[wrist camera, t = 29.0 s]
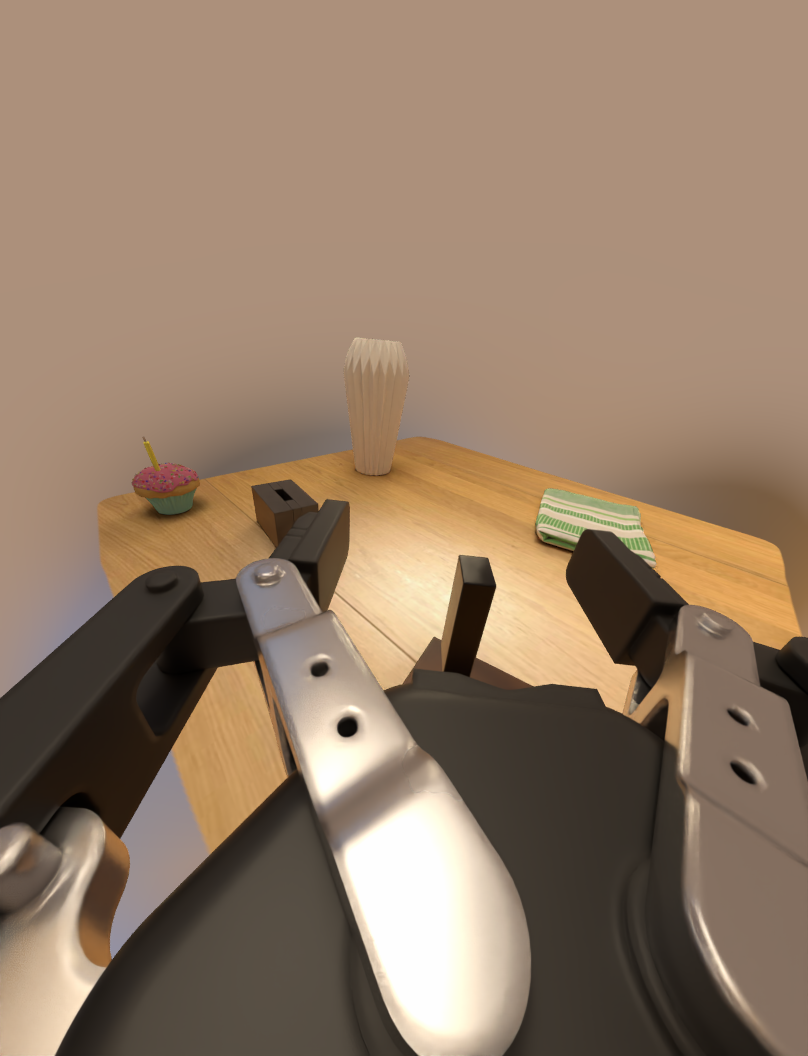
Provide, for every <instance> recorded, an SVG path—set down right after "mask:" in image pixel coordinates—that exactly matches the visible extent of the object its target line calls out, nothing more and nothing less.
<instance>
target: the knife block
mask: <svg viewBox="0 0 808 1056" xmlns="http://www.w3.org/2000/svg"><path fill="white" fill-rule="evenodd" d="M251 487H252V493H253V499H254V506H255V512H256V518H257V522H258V523H259V524H260V526H261V527H262V529H263V530H264V531H265V533H266V534H267V536H268V537H269V538H270V540H271V541H272V542H273V544H274V545H275V547H276V548H277V546H278V545H279V544H280V542H281V541H282V539H283V538H284V537H285V536H286V535H287V533H288V531H289V530H290V529H292V526H293V524H294V523H295V522H296V520H297V519H298V518H299V517H301V516H303V515H305V514H306V513H308V512H317V513H318V512H319V511H318V503H317V502H315V501H314V500H313V499H312V498H311V497H310V496H309V495H308V494H307V493H305V492H304V491H303V490H302V489H301V488H300V487H299V486H298V485H297V484H295V483H294V482H293V481H292V480H285V481H279V482H273V483H268V484H261V485H255V486H251Z"/></svg>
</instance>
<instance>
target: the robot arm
mask: <svg viewBox="0 0 808 1056" xmlns="http://www.w3.org/2000/svg"><path fill="white" fill-rule="evenodd" d="M349 528H350V506H349V502H346V501H337V500H328V499H327V500H326V501H325V502H324V504H323V505H322V507H321V508H320V510H319V512H318V513H317V512H308V513H306V514H305V515H303V516H301V517H299V518H298V519H297V520H296V522H295V523H294V524H293V526H292V529H290V530H289V531H288V533H287V535H286V536H285V537H284V538H283V539H282V541H281V542H280V544H279V545H278V546H277V548H276V549H275V550H274V552H273V553H272V554H271V556H270V557H269V559H263V560H259V561H255V562H253V563H251V564H249V565H247V566H246V567H244V568H243V569H242V570H241V571H240V572H239V573H238V575H237V577H236V579H230V580H221V581H211V582H200V579H199V575H198V573H197V572H196V571H195V570H194V569H192V568H190V567H186V566H169V567H163V568H159V569H155V570H152V571H150V572H147V573H145V574H143V575H141V576H139V577H138V578H136V579H135V580H133V581H132V582H131V583H130V584H129V585H127V586H126V587H125V588H124V589H123V590H122V591H121V592H120V593H118V594H117V595H116V596H115V597H114V598H113V599H112V600H111V601H109V602H108V603H107V604H106V605H105V606H104V607H103V608H102V609H101V610H99V611H98V612H97V613H96V614H95V615H94V616H93V617H91V618H90V619H89V620H88V621H87V622H86V623H85V624H84V625H82V626H81V627H80V628H79V629H78V630H77V631H76V632H75V633H74V634H72V635H71V636H70V637H69V638H68V639H67V640H65V641H64V642H63V643H62V644H61V645H60V646H59V647H58V648H56V649H55V650H54V651H53V652H52V653H51V654H50V655H49V656H48V657H46V658H45V659H44V660H43V661H42V662H41V663H40V664H38V665H37V666H36V667H35V668H34V669H33V670H32V671H31V672H29V673H28V674H27V675H26V676H25V677H24V678H23V679H22V680H20V681H19V682H18V683H17V684H16V685H15V686H14V687H13V688H11V689H10V690H9V691H8V692H7V693H6V694H5V695H3V696H2V697H1V698H0V1056H808V638H806V637H794V638H792V639H791V640H790V641H789V642H788V643H787V644H786V645H785V646H784V647H783V648H782V649H781V650H778V649H775V648H772V647H768V646H765V645H762V644H759V643H755V642H753V641H752V638H751V637H750V635H749V634H748V633H747V632H746V631H745V630H744V629H743V628H742V627H741V626H740V625H738V624H737V623H736V622H734V621H733V620H731V619H729V618H728V617H726V616H724V615H722V614H720V613H718V612H716V611H713V610H711V609H708V608H705V607H701V606H696V605H689V604H688V603H687V602H686V601H685V600H684V599H683V598H682V597H681V596H680V595H679V594H678V593H677V592H676V591H675V590H674V589H673V588H672V587H671V586H670V585H669V584H668V583H667V582H666V581H665V580H664V579H661V578H660V577H661V576H660V575H659V574H658V573H657V572H656V571H655V570H652V567H651V566H650V565H649V564H648V563H647V562H646V561H645V560H644V559H643V558H642V557H640V556H639V555H637V554H635V553H634V552H632V551H631V550H630V549H629V548H628V547H627V546H626V545H625V544H624V543H623V542H622V541H621V540H620V539H619V538H618V537H617V536H616V535H615V534H614V533H613V532H611V531H602V530H593V529H586V530H584V531H583V532H582V534H581V536H580V538H579V540H578V543H577V545H576V547H575V549H574V552H573V554H572V556H571V559H570V561H569V563H568V566H567V569H566V580H567V583H568V585H569V587H570V588H571V590H572V592H573V594H574V595H575V597H576V599H577V600H578V602H579V604H580V606H581V607H582V609H583V611H584V612H585V614H586V616H587V617H588V619H589V621H590V623H591V624H592V626H593V628H594V629H595V631H596V633H597V634H598V636H599V638H600V640H601V641H602V643H603V645H604V646H605V648H606V650H607V652H608V653H609V655H610V657H611V658H612V660H613V662H614V663H615V664H624V665H633V666H636V667H637V670H636V672H635V673H634V674H633V676H632V678H631V681H630V685H629V689H628V693H627V697H626V701H625V705H624V709H623V713H619V712H617V711H615V710H613V709H610V708H608V707H606V706H605V704H604V702H603V700H602V698H601V696H600V694H599V692H598V690H597V689H591V688H582V687H574V686H565V685H556V684H549V685H542V686H535V687H528V688H521V689H514V690H506V689H502V688H499V687H496V686H493V685H491V684H488V683H485V682H482V681H479V680H476V679H473V678H470V677H467V676H464V675H462V674H459V673H451V672H442V671H433V670H424V669H415V668H413V673H412V679H411V683H407V684H402V685H398V686H394V687H391V688H389V689H386V690H384V691H383V690H382V688H381V686H380V685H379V683H378V682H377V680H376V678H375V677H374V675H373V674H372V672H371V670H370V669H369V667H368V666H367V664H366V662H365V661H364V659H363V658H362V656H361V654H360V653H359V651H358V650H357V648H356V646H355V645H354V643H353V642H352V640H351V638H350V637H349V635H348V634H347V632H346V630H345V629H344V627H343V626H342V624H341V622H340V621H339V619H338V618H337V616H336V615H335V613H334V612H333V611H331V610H328V607H329V605H330V602H331V599H332V597H333V594H334V591H335V588H336V586H337V583H338V580H339V578H340V575H341V572H342V570H343V567H344V564H345V561H346V559H347V555H348V550H349ZM327 610H328V611H327ZM251 661H253V662H254V665H255V668H256V671H257V675H258V678H259V681H260V685H261V688H262V691H263V694H264V698H265V701H266V704H267V708H268V711H269V714H270V717H271V721H272V724H273V728H274V732H275V736H276V740H277V744H278V747H279V751H280V754H281V758H282V761H283V765H284V768H285V771H286V775H287V779H286V780H285V781H284V782H283V783H282V784H281V785H280V786H279V787H278V788H277V789H276V790H275V791H274V792H273V793H272V794H271V795H270V796H269V797H268V798H267V799H266V800H265V801H264V802H263V803H262V804H261V805H260V806H259V807H258V808H257V809H256V810H255V811H254V812H253V813H252V814H251V815H250V816H249V817H248V818H247V819H246V820H245V821H244V822H243V823H242V824H241V825H240V826H239V827H238V828H237V829H236V830H235V831H234V832H233V833H232V834H231V835H230V836H229V837H228V838H227V839H226V840H225V841H223V842H222V843H221V844H220V845H219V846H218V847H217V848H216V849H215V850H214V851H213V852H212V853H211V854H210V855H209V856H208V857H207V858H206V859H205V860H204V861H203V862H202V863H201V864H200V865H199V866H198V868H196V869H195V870H194V871H193V873H192V874H190V875H189V876H188V877H187V878H186V879H185V880H184V881H183V882H182V883H181V884H180V885H179V886H178V887H177V888H176V889H175V890H174V892H172V893H171V894H170V895H169V896H168V898H166V899H165V900H164V901H163V902H162V903H161V904H160V905H159V906H158V907H157V908H156V909H155V910H154V911H153V912H152V913H151V914H150V915H149V916H148V917H147V918H146V919H145V921H144V922H143V923H142V924H141V925H140V926H139V927H138V928H137V929H136V931H135V932H134V933H133V934H132V935H131V937H130V938H129V939H128V940H127V941H126V942H125V944H124V945H123V946H122V947H121V949H120V950H119V951H118V953H117V954H116V955H115V957H114V958H113V959H111V953H110V933H111V926H112V922H113V918H114V915H115V911H116V909H117V906H118V904H119V901H120V899H121V896H122V894H123V891H124V889H125V886H126V883H127V879H128V875H129V868H130V857H129V854H128V850H127V848H126V846H125V844H124V843H123V842H122V841H121V840H120V838H121V836H122V835H123V833H124V831H125V829H126V828H127V826H128V824H129V822H130V821H131V819H132V817H133V815H134V814H135V812H136V810H137V808H138V807H139V805H140V803H141V801H142V799H143V798H144V796H145V794H146V792H147V791H148V789H149V787H150V785H151V784H152V782H153V780H154V778H155V777H156V775H157V773H158V771H159V770H160V768H161V766H162V764H163V763H164V761H165V759H166V757H167V756H168V754H169V752H170V750H171V749H172V747H173V745H174V743H175V742H176V740H177V738H178V736H179V734H180V733H181V731H182V729H183V727H184V726H185V724H186V722H187V720H188V719H189V717H190V715H191V713H192V712H193V710H194V708H195V706H196V705H197V703H198V701H199V699H200V698H201V696H202V694H203V692H204V691H205V689H206V687H207V685H208V684H209V682H210V680H211V678H212V677H213V675H214V673H215V671H216V669H217V668H218V667H222V666H228V665H233V664H239V663H245V662H251Z"/></svg>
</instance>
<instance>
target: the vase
mask: <svg viewBox="0 0 808 1056" xmlns="http://www.w3.org/2000/svg"><path fill="white" fill-rule="evenodd" d="M344 378H345V388H346V395H347V404H348V412H349V420H350V428H351V436H352V444H353V452H354V460H355V468H356V470H357V471H358V472H361V474H365V475H368V474H369V475H371V476H372V475H376V476H377V475H382V474H386V473H389V471H390V469H391V465H392V460H393V455H394V450H395V445H396V440H397V435H398V430H399V426H400V421H401V415H402V411H403V406H404V401H405V396H406V391H407V386H408V381H409V370H408V364H407V358H406V355H405V353H404V350H403V347H402V344H401V342H395V341H385V340H376V339H365V338H355V339H354V341H353V343H352V344H351V346H350V348H349V350H348V352H347V356H346V362H345V366H344Z"/></svg>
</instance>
